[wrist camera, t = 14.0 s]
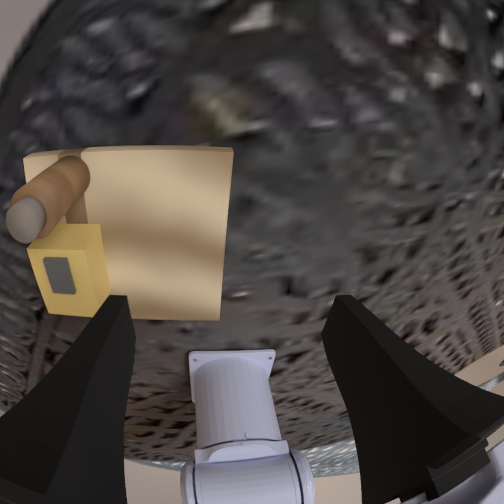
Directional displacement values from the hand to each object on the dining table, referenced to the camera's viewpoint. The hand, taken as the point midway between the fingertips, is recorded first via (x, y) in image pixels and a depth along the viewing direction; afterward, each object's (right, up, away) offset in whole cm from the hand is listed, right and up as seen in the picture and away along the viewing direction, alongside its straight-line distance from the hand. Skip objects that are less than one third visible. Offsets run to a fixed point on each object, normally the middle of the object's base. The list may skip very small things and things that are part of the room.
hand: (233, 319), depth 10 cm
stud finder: (-11, +2, +7) cm, 13 cm away
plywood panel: (-8, +3, +9) cm, 12 cm away
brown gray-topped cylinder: (-10, +7, +4) cm, 13 cm away
